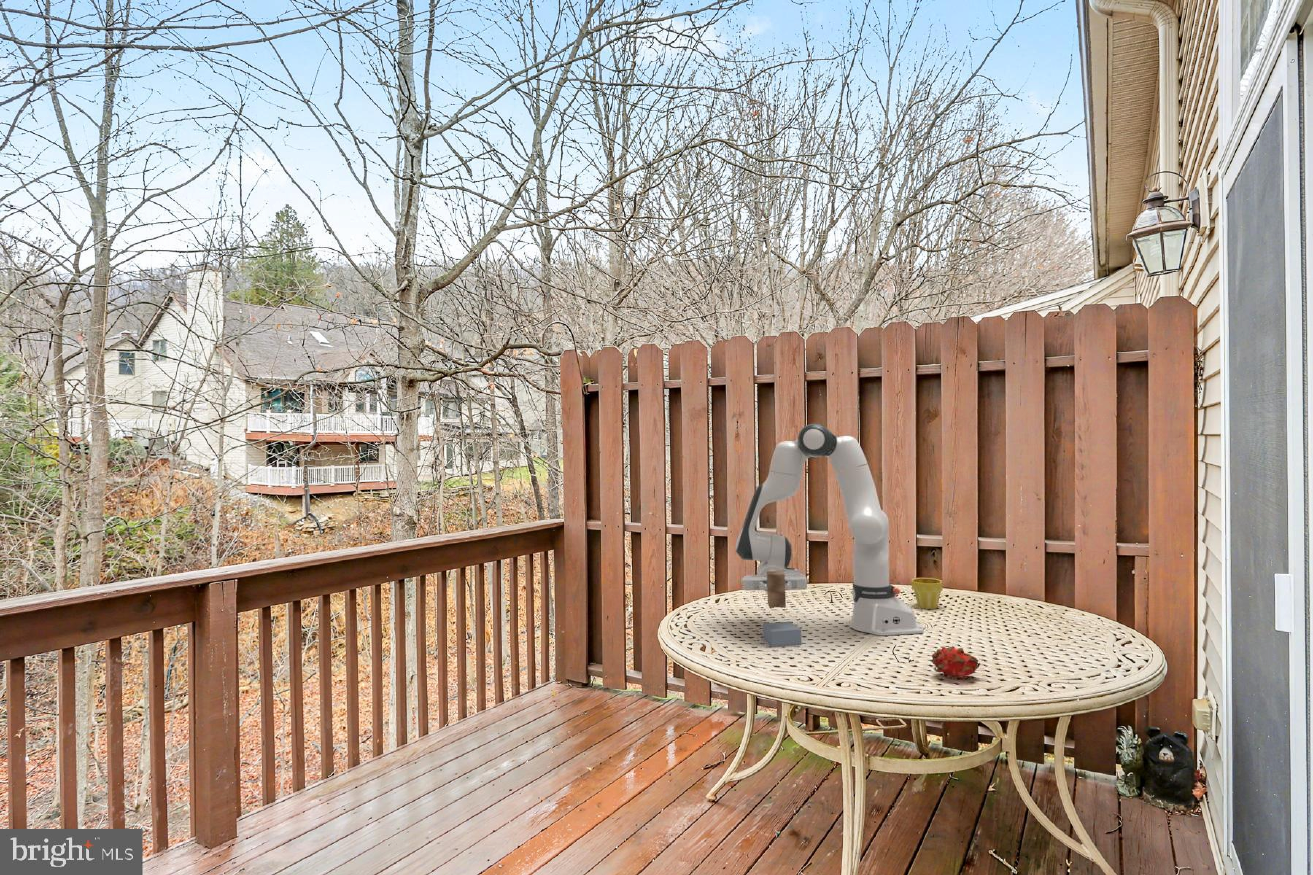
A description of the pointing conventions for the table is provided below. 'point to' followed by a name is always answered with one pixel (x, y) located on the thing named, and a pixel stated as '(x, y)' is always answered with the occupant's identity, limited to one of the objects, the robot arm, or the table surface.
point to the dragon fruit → (954, 662)
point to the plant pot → (927, 592)
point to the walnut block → (776, 589)
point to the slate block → (781, 634)
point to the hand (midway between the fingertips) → (776, 587)
